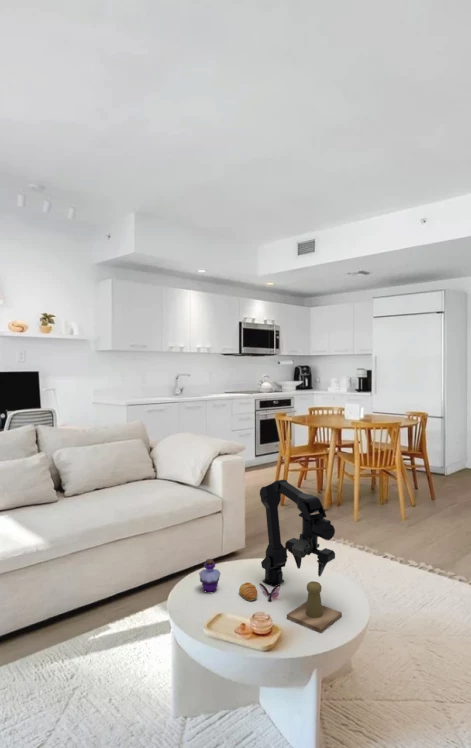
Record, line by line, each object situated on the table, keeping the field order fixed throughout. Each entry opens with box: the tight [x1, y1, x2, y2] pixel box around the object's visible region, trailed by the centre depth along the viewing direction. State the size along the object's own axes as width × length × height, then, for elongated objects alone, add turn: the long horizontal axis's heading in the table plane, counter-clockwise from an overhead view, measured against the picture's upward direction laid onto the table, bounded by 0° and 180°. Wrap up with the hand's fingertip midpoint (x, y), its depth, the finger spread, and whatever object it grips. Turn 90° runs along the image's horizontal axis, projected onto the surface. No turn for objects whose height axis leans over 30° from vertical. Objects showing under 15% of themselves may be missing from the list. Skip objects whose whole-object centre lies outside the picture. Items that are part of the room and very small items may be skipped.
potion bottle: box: [198, 558, 221, 593], centre depth 199 cm, size 9×9×12 cm
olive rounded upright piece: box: [306, 581, 323, 618], centre depth 177 cm, size 6×6×11 cm
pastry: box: [238, 582, 258, 602], centre depth 194 cm, size 9×7×4 cm
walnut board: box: [286, 601, 343, 634], centre depth 177 cm, size 14×14×2 cm
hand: (309, 572), depth 186 cm, fingers open, 9 cm apart
